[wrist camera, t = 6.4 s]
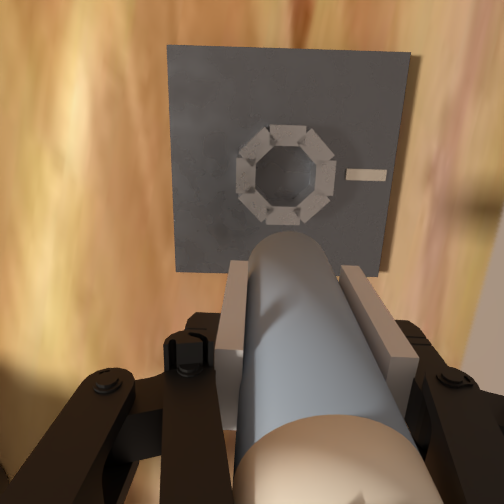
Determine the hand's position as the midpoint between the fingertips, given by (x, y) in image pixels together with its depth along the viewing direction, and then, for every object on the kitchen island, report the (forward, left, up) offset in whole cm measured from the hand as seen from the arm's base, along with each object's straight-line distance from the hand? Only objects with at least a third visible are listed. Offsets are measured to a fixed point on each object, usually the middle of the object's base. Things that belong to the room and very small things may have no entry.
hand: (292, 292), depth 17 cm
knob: (0, 0, -3) cm, 3 cm away
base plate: (+1, +2, -22) cm, 22 cm away
